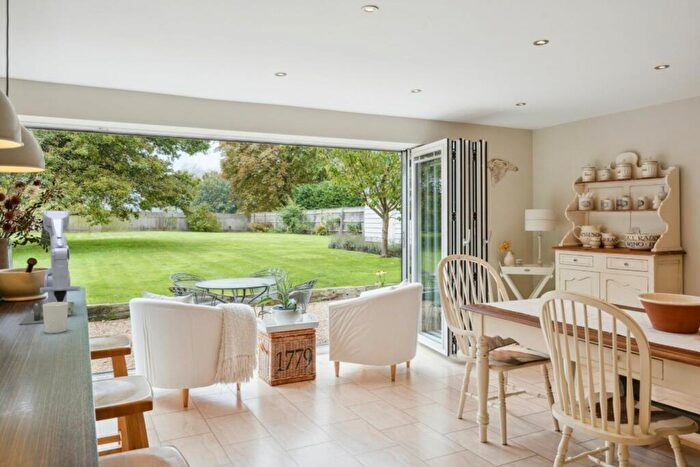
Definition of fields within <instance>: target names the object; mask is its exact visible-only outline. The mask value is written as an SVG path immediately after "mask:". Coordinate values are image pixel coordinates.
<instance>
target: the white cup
mask: <svg viewBox="0 0 700 467" xmlns="http://www.w3.org/2000/svg"><path fill="white" fill-rule="evenodd" d="M42 306H43V317H44V324H43V325H44V333H45V334H58V333H63V332H66V331H67V324H68V315H69V314H68V311H69V308H68V301H67V302H53V303H48V302H45V303H43V304H42Z"/></svg>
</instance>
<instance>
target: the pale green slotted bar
mask: <svg viewBox="0 0 700 467" xmlns="http://www.w3.org/2000/svg"><path fill="white" fill-rule="evenodd" d="M67 303H68V315H72V314H75V302H74V301H69V302H68V301H67ZM40 319H44V317H43V305H42V306H40Z"/></svg>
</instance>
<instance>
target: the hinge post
mask: <svg viewBox="0 0 700 467" xmlns="http://www.w3.org/2000/svg"><path fill="white" fill-rule="evenodd" d="M40 307H41V305H40V303H33V313H34V321H39V320H40Z"/></svg>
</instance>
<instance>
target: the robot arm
mask: <svg viewBox="0 0 700 467" xmlns="http://www.w3.org/2000/svg"><path fill="white" fill-rule="evenodd" d="M42 222H43V224H42V225H43V230H44V231H46V232H48V234H49V238H50V266H51V267H50V268H48V269H47V270H45V272H44V274H43V275H44V276H43V287H40V288H39V293H40V294H42V293H47V303H53V302H67V303H68V297H67V296H68V292H81V286H80V285H71V276H70V273H71V272H70V271H69V261H70V257H71V254H70V252H71V251H70V247H69V245H68V242H67V236H66V235H64V232H66V231H67V230H68V228H69V223H70V213H69V211H68V210H43V212H42Z"/></svg>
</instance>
